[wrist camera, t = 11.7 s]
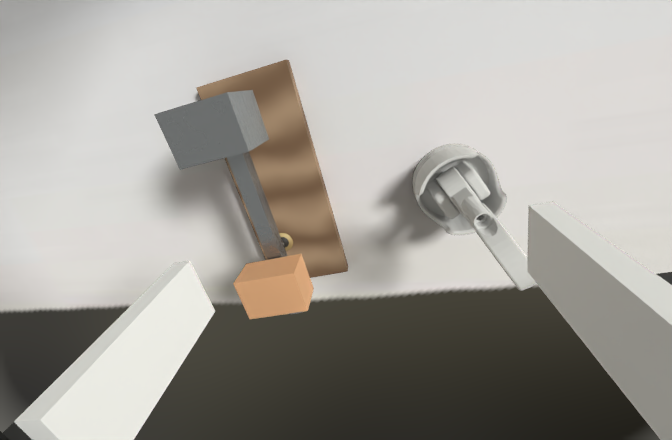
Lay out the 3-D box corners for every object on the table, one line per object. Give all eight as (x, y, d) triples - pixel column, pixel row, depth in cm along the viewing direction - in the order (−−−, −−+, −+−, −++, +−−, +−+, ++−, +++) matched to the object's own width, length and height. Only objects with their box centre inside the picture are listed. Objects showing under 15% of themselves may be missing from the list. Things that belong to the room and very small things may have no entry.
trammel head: (268, 230, 45) (233, 283, 34) (313, 221, 44) (293, 273, 32) (279, 259, 47) (249, 319, 36) (323, 251, 46) (307, 310, 34)
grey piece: (222, 103, 39) (154, 114, 27) (273, 87, 38) (226, 92, 26) (287, 275, 49) (260, 342, 37) (330, 268, 48) (316, 334, 36)
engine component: (463, 127, 39) (397, 175, 43) (547, 170, 21) (419, 250, 24) (506, 191, 42) (442, 232, 45) (615, 280, 23) (492, 337, 27)
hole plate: (202, 87, 40) (195, 87, 39) (288, 60, 38) (285, 59, 36) (277, 278, 52) (274, 284, 50) (348, 265, 49) (347, 272, 48)
